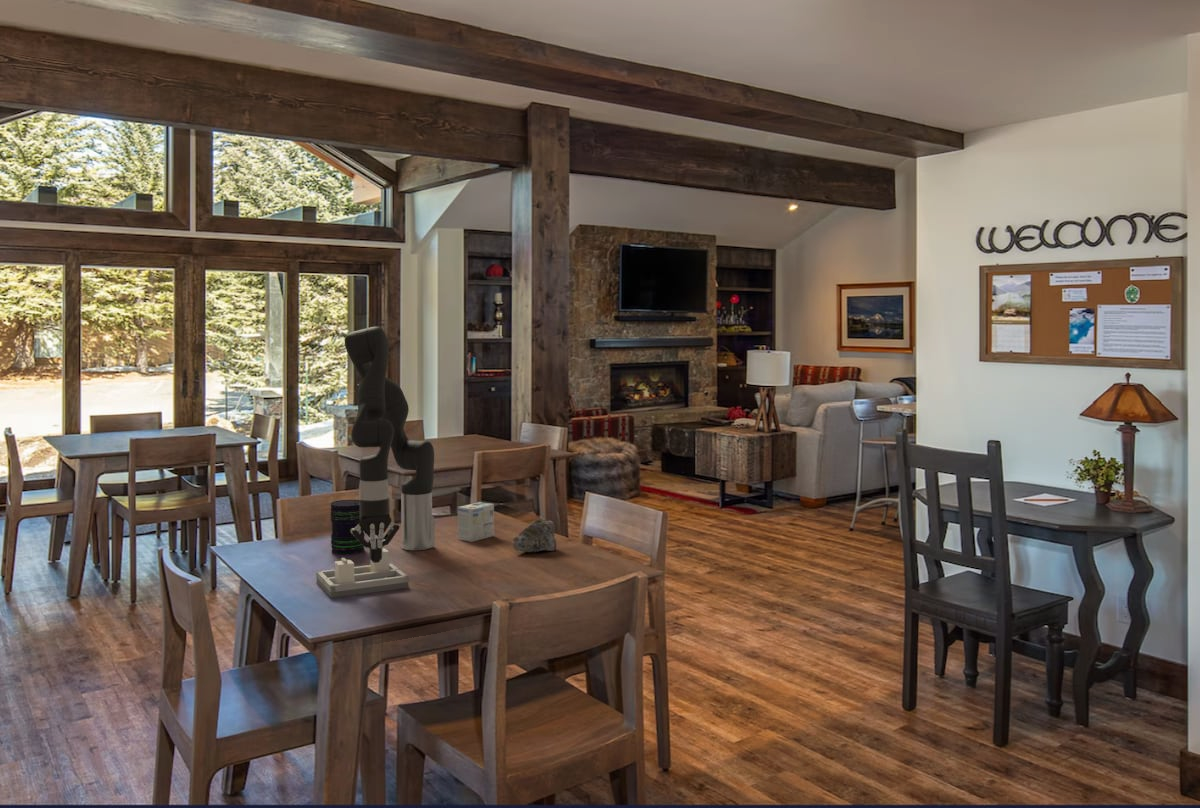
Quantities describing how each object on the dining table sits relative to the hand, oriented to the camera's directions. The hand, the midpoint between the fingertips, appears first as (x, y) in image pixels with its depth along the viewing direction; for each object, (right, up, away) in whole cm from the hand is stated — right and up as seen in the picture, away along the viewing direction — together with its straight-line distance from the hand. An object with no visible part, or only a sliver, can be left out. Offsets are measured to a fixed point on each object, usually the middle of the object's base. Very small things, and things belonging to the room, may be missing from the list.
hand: (375, 561), depth 242 cm
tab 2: (-1, -4, +9) cm, 10 cm away
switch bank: (-4, -7, +3) cm, 8 cm away
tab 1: (-7, -5, -4) cm, 10 cm away
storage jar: (-18, -4, +39) cm, 43 cm away
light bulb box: (+18, -2, +58) cm, 61 cm away
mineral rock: (+39, -4, +41) cm, 57 cm away
